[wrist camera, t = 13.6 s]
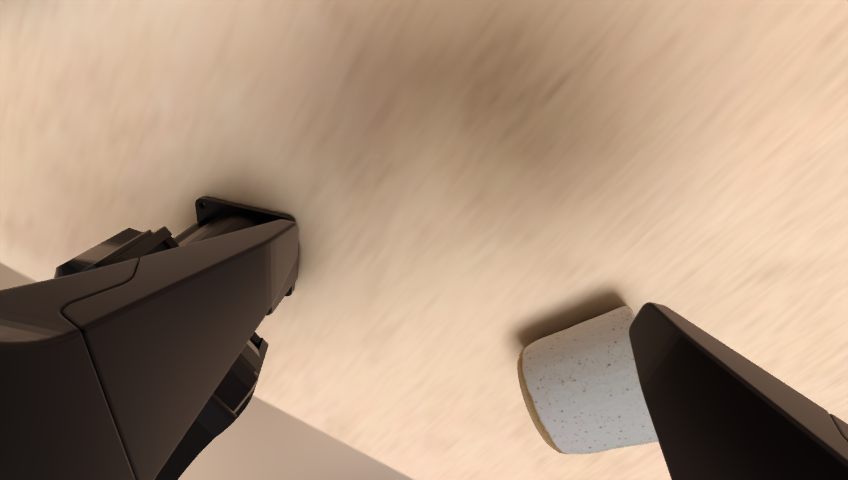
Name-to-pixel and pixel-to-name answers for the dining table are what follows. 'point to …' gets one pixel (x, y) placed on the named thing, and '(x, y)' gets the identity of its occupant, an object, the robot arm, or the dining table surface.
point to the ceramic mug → (586, 387)
